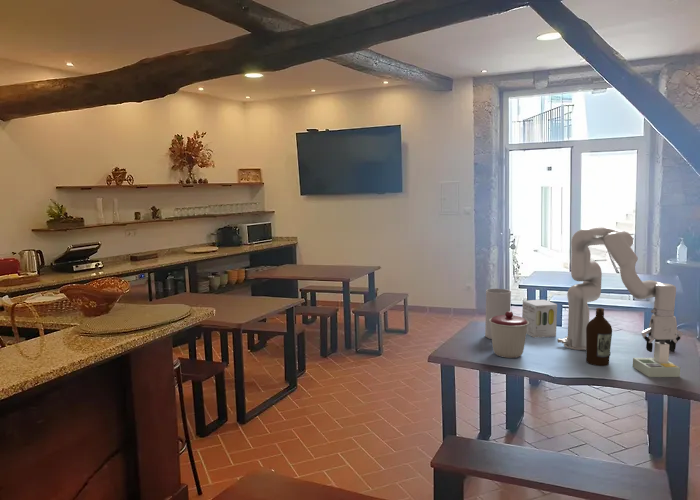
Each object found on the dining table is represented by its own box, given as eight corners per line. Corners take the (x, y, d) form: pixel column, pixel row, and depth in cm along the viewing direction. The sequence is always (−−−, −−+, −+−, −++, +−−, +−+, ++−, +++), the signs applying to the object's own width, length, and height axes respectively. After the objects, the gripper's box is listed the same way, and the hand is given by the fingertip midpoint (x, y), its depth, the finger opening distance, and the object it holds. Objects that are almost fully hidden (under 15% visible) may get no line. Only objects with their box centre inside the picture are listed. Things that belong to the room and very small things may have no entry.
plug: (658, 371, 230) (660, 340, 229) (653, 368, 234) (655, 337, 233) (667, 371, 230) (669, 340, 229) (662, 368, 234) (664, 337, 233)
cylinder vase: (512, 340, 278) (513, 293, 275) (488, 340, 278) (489, 293, 275) (505, 333, 291) (507, 288, 288) (482, 334, 291) (483, 288, 288)
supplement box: (534, 338, 283) (535, 305, 281) (521, 331, 295) (522, 300, 293) (556, 336, 285) (558, 304, 283) (543, 330, 298) (544, 299, 296)
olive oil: (579, 359, 247) (582, 306, 244) (599, 358, 249) (602, 305, 246) (595, 367, 236) (597, 311, 233) (615, 365, 239) (618, 310, 236)
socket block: (648, 377, 224) (649, 367, 224) (632, 366, 237) (633, 357, 237) (679, 376, 224) (680, 366, 224) (661, 366, 237) (662, 357, 237)
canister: (486, 358, 249) (487, 314, 247) (490, 347, 266) (491, 306, 264) (527, 362, 243) (528, 317, 241) (528, 351, 260) (530, 308, 258)
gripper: (648, 314, 226) (645, 353, 228) (689, 314, 226) (685, 354, 228) (638, 310, 233) (635, 348, 236) (678, 310, 233) (675, 348, 235)
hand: (660, 351), depth 232 cm, fingers open, 9 cm apart
